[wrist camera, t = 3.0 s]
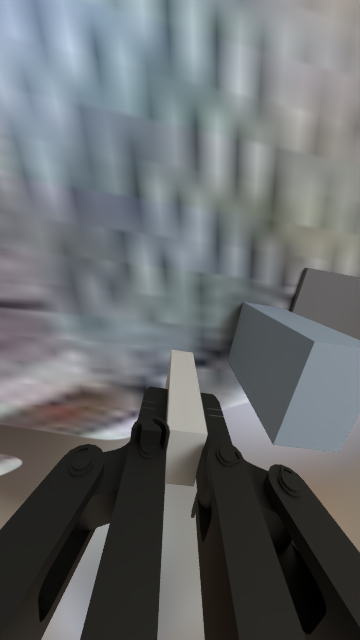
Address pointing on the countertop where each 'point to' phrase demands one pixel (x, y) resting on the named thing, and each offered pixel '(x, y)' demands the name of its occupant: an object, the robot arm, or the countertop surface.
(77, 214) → the countertop surface
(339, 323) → the mat
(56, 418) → the countertop surface
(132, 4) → the countertop surface
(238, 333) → the block
